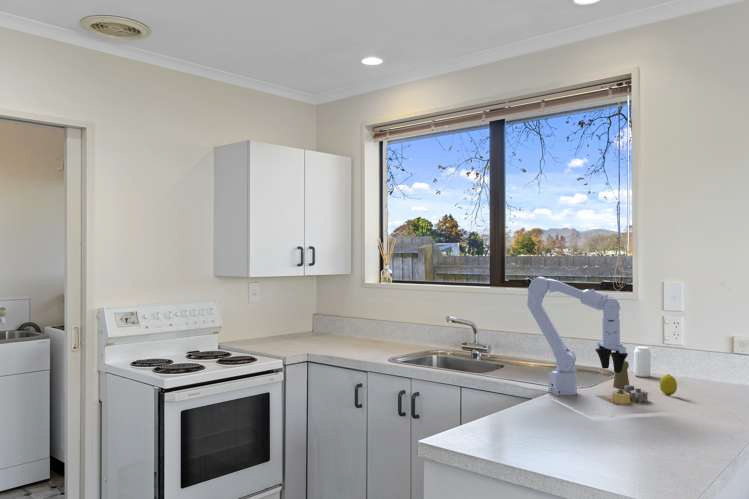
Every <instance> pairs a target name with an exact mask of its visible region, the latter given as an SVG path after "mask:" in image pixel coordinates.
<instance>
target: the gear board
mask: <svg viewBox="0 0 749 499" xmlns="http://www.w3.org/2000/svg"><path fill="white" fill-rule="evenodd" d="M617 391H618V394H623V392H627V393H630V402H629V404H621V403H615V402H613V401H612V394H604V395H596V397H597V398H599V399H602V400H603V401H606V402H609V403H610V404H613V405H616V406H627V405H642V404H653V402H652V401H650V400H648V392H647V391H644V390H642V389H641V388H635V386H634V385H631V384H629V385H625V386H624V389H618V390H617Z"/></svg>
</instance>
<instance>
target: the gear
mask: <svg viewBox="0 0 749 499" xmlns="http://www.w3.org/2000/svg"><path fill="white" fill-rule="evenodd" d="M611 395H612V401H613V402H615V403H621V404H629V402H630V393H627V392H624V391H623V394H618V390H616V391H613V392H612V394H611ZM629 405H630V404H629Z"/></svg>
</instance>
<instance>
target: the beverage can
mask: <svg viewBox="0 0 749 499" xmlns="http://www.w3.org/2000/svg"><path fill="white" fill-rule="evenodd" d="M651 356H652V355H651V350H650V349H649V347H648V346H642V345H641V346H639V345H637V346H635V349H634V350H633V374H634V375H635V376H636V377H637V378H649V377H650V376H651V366H652V364H651V360H652V359H651Z"/></svg>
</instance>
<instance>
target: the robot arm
mask: <svg viewBox="0 0 749 499" xmlns="http://www.w3.org/2000/svg"><path fill="white" fill-rule="evenodd" d="M547 292H548V293H555V292H556V293H557V292H559V293H562V294H565V295H566V296H570V297H573V298H576V299H579V301H580V303H581V304H582V305H584V306H586V307H589V308H592V309H594V310H597V311H602V313H603V314H602V315H603V316H602V318H601V319H602V323H601V324H602V340H601V341H600V340H599V341H597V348H595V352H596V353H597V355H598V358H599V360H600V364H601V368H602V369H603V370H604V369H609V367H610V359H612V365H613V371H614V372H613V373H614V374H615V373H621V370H622V367H623V363H624V361H626V359H627V357H628V355H629V354H628V353H627V347H625V346H623V345H624V344H622V343H621V329H620V328H621V327H620V326H621V325H620V324H621V323H620V322H621V319H620V311H621V306H620V303H619V301H618V300H617V299H616V298H614V297H613V296H609V295H608V294H607V293H606V294H602V293H600V292H597V291H596V289H594V288H591V289H590V288H587V289H584V290H581V289H578V288H576V287H574V286H572V285H569V284H567V283H564V282H562V281H559V280H556V279H552V278H547V277H544V276H537V277H535V278H533V279H532V280H531V282H530V284H529V286H528V288H527V308H528V310H529V311H530V313H531V314H532V316H533V318H534V320H535V322H536V324H537V326H538V327H539V329H540V331H541V333H542V334H543V336H544V337H545V339H546V341H547V343H548V345H549V346H550V348H551V350H552V353H553V356H554V358H555V361H556V364H555V365H556V366H557V367H555V370H552V371H550V372H549V373H548V392H549V393H551V394H553V395H555V396H563V395H564V396H571V395H574V396H575V395H576V394H578V377H577V372H578V369H577V368H576V367H575V366H576V365H575V364H576V360H577V358H576V354H575V353H574V352H573V351H571V350H570V349H569V348H568V346H567V345H566V343H565V342H564V341H563V339H562V337H561V336H560V334H559V333H558V331H557V329H556V326H555V325H554V324H553V322H552V320H551V318H550V317H549V315H548V312H547V311H546V310H545V307H544V306H543V301H544V299H545V295H546V294H547ZM610 357H611V358H610Z"/></svg>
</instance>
